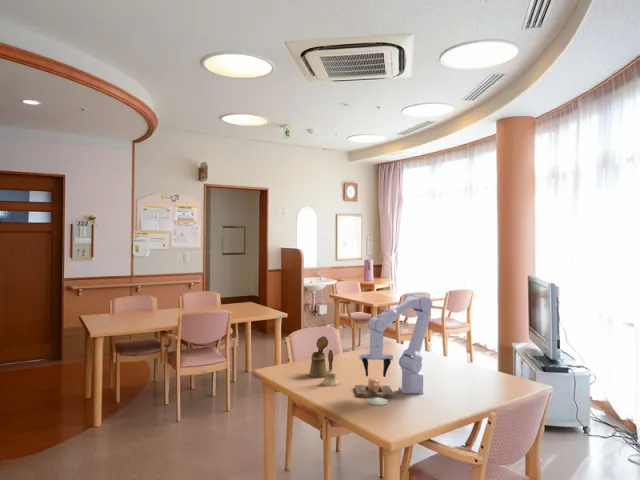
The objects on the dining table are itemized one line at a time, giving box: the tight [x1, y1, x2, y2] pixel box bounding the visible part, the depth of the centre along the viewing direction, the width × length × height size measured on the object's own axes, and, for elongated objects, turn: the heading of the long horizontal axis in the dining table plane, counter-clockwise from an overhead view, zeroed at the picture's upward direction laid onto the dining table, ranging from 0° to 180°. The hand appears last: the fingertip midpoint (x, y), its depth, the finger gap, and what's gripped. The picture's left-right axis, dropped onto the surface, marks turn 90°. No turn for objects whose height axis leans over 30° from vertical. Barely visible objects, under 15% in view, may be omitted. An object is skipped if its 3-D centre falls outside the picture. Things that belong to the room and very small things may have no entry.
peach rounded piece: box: [367, 377, 381, 392], centre depth 200 cm, size 9×5×6 cm, turn 1°
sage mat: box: [366, 397, 389, 406], centre depth 191 cm, size 9×9×1 cm
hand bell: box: [321, 349, 340, 387], centre depth 214 cm, size 8×8×16 cm
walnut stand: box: [354, 384, 395, 399], centre depth 202 cm, size 16×12×2 cm
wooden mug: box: [309, 335, 329, 379], centre depth 229 cm, size 9×14×18 cm, turn 163°
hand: (375, 376), depth 198 cm, fingers open, 7 cm apart
